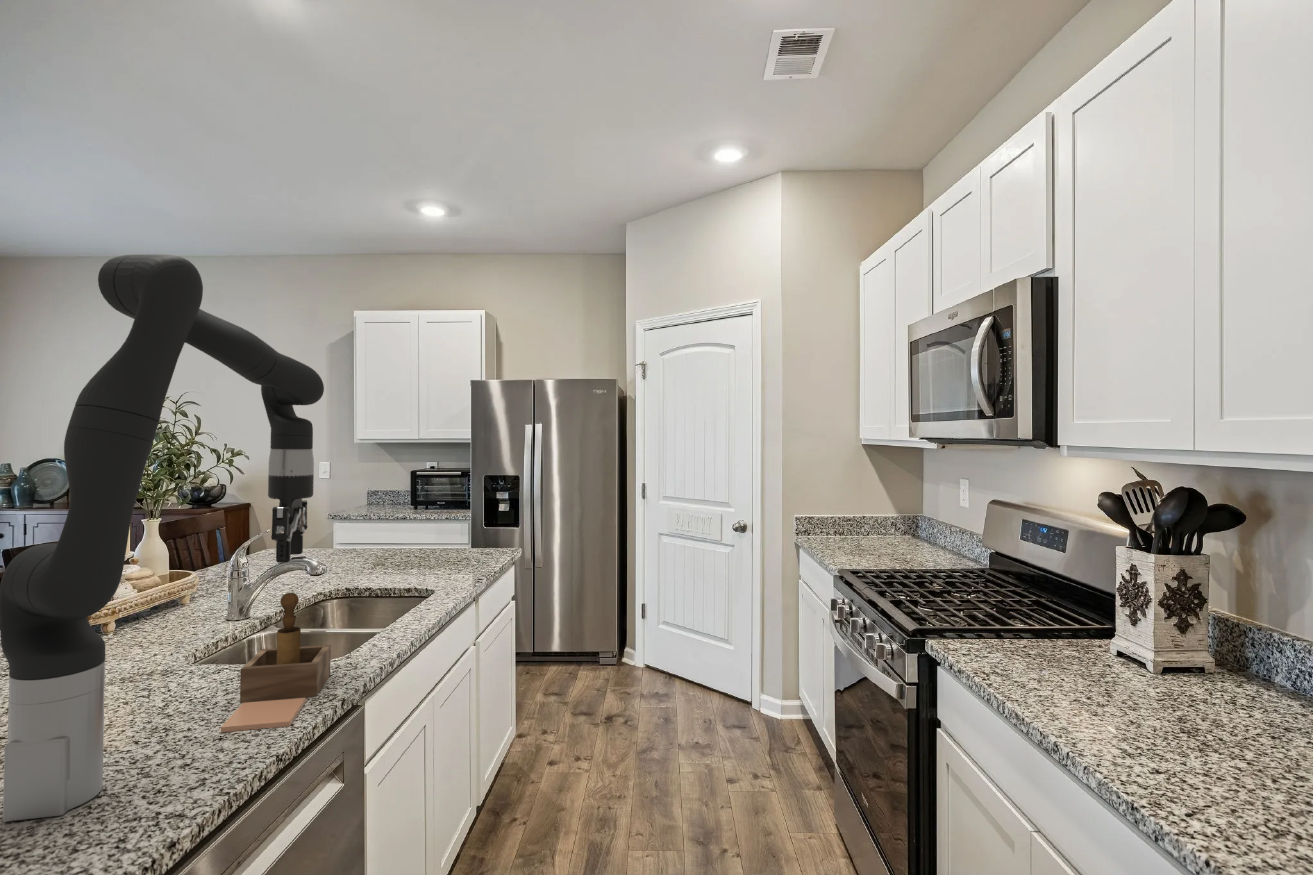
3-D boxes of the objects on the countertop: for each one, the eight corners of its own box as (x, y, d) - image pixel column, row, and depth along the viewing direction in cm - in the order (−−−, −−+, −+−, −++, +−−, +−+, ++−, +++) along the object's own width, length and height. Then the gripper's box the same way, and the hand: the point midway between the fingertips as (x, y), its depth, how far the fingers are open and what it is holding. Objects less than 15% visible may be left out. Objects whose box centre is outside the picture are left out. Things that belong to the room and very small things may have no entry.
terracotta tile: (289, 726, 106) (289, 721, 106) (220, 732, 104) (220, 727, 104) (305, 702, 116) (305, 697, 116) (242, 707, 113) (243, 702, 114)
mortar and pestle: (289, 696, 119) (291, 598, 119) (259, 692, 120) (260, 596, 120) (315, 683, 125) (316, 590, 125) (286, 680, 126) (288, 588, 127)
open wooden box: (316, 696, 119) (316, 663, 119) (239, 702, 115) (240, 669, 115) (330, 674, 130) (330, 644, 130) (260, 679, 126) (261, 649, 126)
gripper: (303, 475, 117) (301, 564, 117) (321, 471, 131) (320, 551, 130) (256, 475, 115) (255, 566, 115) (280, 471, 129) (279, 552, 129)
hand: (289, 558), depth 123 cm, fingers open, 8 cm apart
